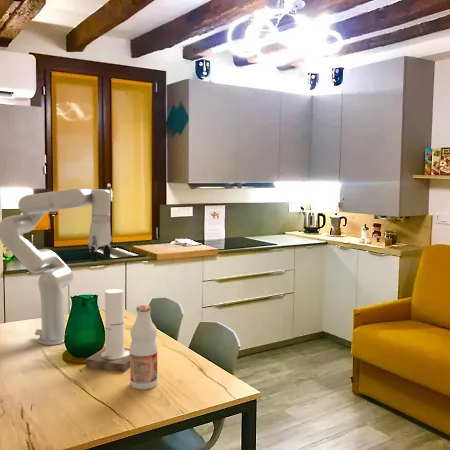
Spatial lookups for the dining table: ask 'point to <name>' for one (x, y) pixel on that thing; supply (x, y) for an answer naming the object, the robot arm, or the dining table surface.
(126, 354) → the walnut plinth
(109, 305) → the cylindrical container
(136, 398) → the dining table surface
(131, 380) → the fruit juice
